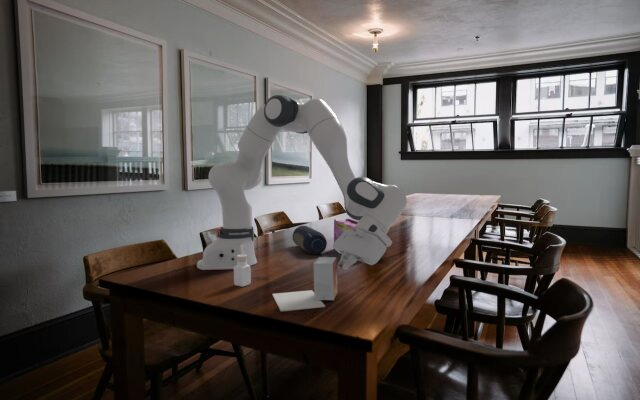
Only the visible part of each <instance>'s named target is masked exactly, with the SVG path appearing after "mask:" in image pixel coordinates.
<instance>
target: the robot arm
mask: <svg viewBox="0 0 640 400" xmlns="http://www.w3.org/2000/svg"><path fill="white" fill-rule="evenodd" d="M282 130H284V131H286V132H293V133H296V134H299V135H300V134H302V135H303V134H308V136H309V138H310V140H311V142H312V144H313V145H314V146H315V148H316V150H317V151H318V152H319V154H320V155H321V157H322V158H323V160H324V161H325V163H326V164H327V166H328V168H329V169H330V171H331V173H332V176H333V177H334V179H335V181H336V182H337V183H336V184H338V185H337V186H338V187H339V189H340V191H341V193H342V196H343V201H344V209H345V212H346V214H347V216H348V217H349V218H350V219H351V220H354V221H357V222H358V223H357V224H356V225H355V227H354V228H352V229H349V230H346V231H345V232H344V233H343V234H342V235H341V236H340V237H339V238H338V239H337V240H336V241H335V242H334V241H333V245H332V248H333V250H335V251H336V252H338V254H341V256H340V260H339V262H337V268H340V269H342V270H344V271H347V270H349V269H350V267H351V266H353V265H354V264H355V263H357V262H358V261H359V262H362V263H365V264H367V265H370V266H373V265H375V264H377V263H378V262H379V261H380V259H382V257H383V255H384V254H385V252H386V251H387V248H389V247H391V246H392V244H393V241H392V240H391V238H390V237H389V236H388V235H387V234H388V232H389V230H390V228H391V227H392V226H393V225H394V224H395V223H396V222H397V220H398V219H400V217H401V215H402V213H403V212H404V211H405V208H406V206H407V203H408V201H407V199H408V198H407V195H406V194H405V192H404V191H403V190H402V188H400V187H398V186H397V185H395V184H385V183H380V182H376V181H374V180H372V179H370V178H368V177H366V176H359V177H356V176H355V173H354V172H353V169H352V168H351V165H350V162H349V155H348V141H347V136H346V132H345V129H344V126H343V125H342V123H341V121H340V119H339V118H338V116H337V115H336V113H335V112H334V110H333V109H332V108H331V106H330V105H328V103H327V102H326V101H325V100H323V99H321V98H312V99H309V100H308V101H307V102H305V103H304V102H303V101H301V100H298V99H294V98H292V97H289V96H287V95H284V94H275V95H272V96H271V97H269V98H268V99H267V101H265V104H262V105H261V106H260V107H259V108H258V109H257V110H256V111H255V113H254V114H253V116H252V117H251V118H250V120H249V122H248V123H247V125H246V126H245V128H244V131H243V132H242V134H241V137H240V138H239V140H238V142H237V148H238V155H237V159H236V160H235V161H233V162H232V161H229V162H227V161H224V162H220V163H218V164H216V165H213V166H212V167H211V168H210V170H209V172H208V183H209V184H210V186H211V188H213V190H215V192H216V194H217V196H218V199H219V201H220V205H221V210H222V211H221V212H222V213H221V215H222V227H217V228H215V231H216V234H217V238H216V239H215V240H213V241H211V243H209V244H208V245H207V246H206V247H205V248H204V251H203V253H202V259H200V260H198V261H197V262H196V267H197V269H199V270H202V271H206V270H209V271H210V270H234V266H236V265H237V255H242V254H244V255H247V265H249V266H250V267H251V266H253V265H256V264H257V263H258V261H257V260H258V259H257V257H256V252H255V247H254V239H255V235H254V234H255V233H254V232H255V229H254V226H253V209H252V205H251V203H249V202H248V200H247V197H246V193H245V191H249V190H252V189H254V188H256V187H258V186H259V185H260V183H261V182H262V178H263V175H262V167H263V163H264V160H265V158H266V155H267V154H268V152H269V150H270V149H271V147H272V145H273V143H274V141H275V140H276V138H277V135H278V134H279V133H280V131H282Z"/></svg>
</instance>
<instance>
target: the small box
mask: <svg viewBox="0 0 640 400" xmlns="http://www.w3.org/2000/svg"><path fill="white" fill-rule="evenodd" d="M337 264H338V258H337V257H335V256H331V257H330V256H319V257H318V258H317V259H316V260H315V261H314V262H313V266H312V267H313V285H314V286H313V289H314V291H313V292H314V294H315V300H321V301H335V299H336V296H337V295H338V265H337Z"/></svg>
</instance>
